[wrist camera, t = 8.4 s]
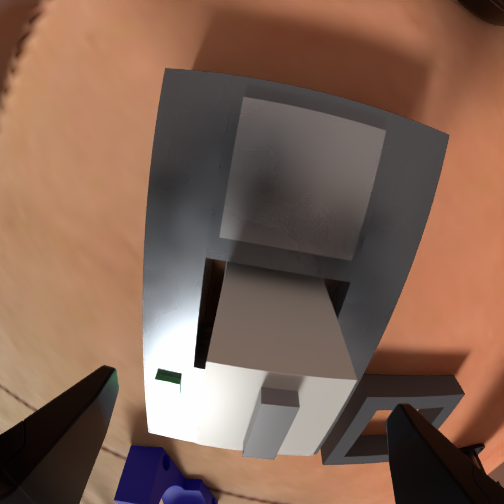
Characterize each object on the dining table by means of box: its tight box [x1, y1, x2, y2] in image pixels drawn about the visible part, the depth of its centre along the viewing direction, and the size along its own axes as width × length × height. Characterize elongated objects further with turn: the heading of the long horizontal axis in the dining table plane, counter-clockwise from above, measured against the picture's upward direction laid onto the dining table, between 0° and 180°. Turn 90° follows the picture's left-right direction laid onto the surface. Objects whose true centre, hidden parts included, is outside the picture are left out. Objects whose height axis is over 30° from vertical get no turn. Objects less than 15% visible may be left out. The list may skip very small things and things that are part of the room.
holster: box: [320, 374, 465, 465], centre depth 19 cm, size 8×8×2 cm
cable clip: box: [114, 446, 218, 504], centre depth 22 cm, size 12×4×6 cm, turn 10°
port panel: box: [143, 68, 449, 454], centre depth 14 cm, size 10×18×4 cm, turn 170°
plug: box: [195, 261, 357, 460], centre depth 12 cm, size 4×4×9 cm
